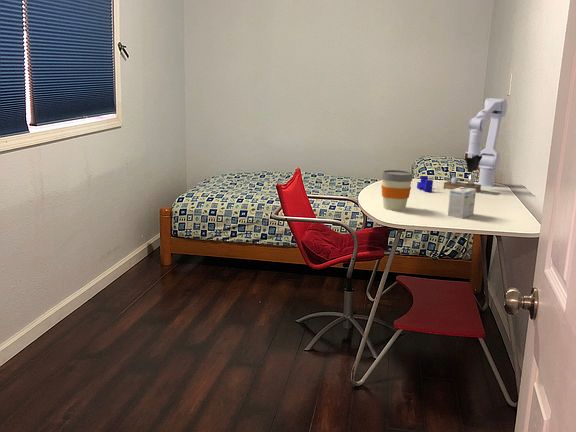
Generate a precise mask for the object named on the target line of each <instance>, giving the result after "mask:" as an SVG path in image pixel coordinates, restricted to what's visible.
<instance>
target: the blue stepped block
mask: <svg viewBox="0 0 576 432" xmlns="http://www.w3.org/2000/svg"><path fill="white" fill-rule="evenodd" d="M416 183H417V184H416V188H417V189H418V190H419V191H423V192H425V193H426V192H429V193H431V194H432V193H433V183H434V180H433V179H429V178H428V176H426V175H425V176H424V175H421V176H420V181H417V182H416Z"/></svg>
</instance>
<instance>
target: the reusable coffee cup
mask: <svg viewBox="0 0 576 432" xmlns="http://www.w3.org/2000/svg"><path fill="white" fill-rule="evenodd" d="M381 181H382V183H381V196H382V199H383V200H382V202H383V205H382V206H383V209H385V210H389V211H395V212H398V211H399V212H400V211H405V210H406V207H407V203H408V202H407V201H408V199H409V198H410V194H411V190H412V187H411V185H412V181H413V173H412V172H411V171H406V170H400V169H387V170H383V171H382V173H381Z"/></svg>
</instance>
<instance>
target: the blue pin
mask: <svg viewBox="0 0 576 432" xmlns="http://www.w3.org/2000/svg"><path fill="white" fill-rule="evenodd" d="M450 181H451V183H454V184H458V182H459V177H455V176H453V177H451V180H450Z"/></svg>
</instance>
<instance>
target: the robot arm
mask: <svg viewBox="0 0 576 432" xmlns="http://www.w3.org/2000/svg"><path fill="white" fill-rule="evenodd" d="M484 100H485V101H484V106H483V107H484V108H483V109H481V110H480V111H479V112H478V113H477V114H476V116H475V117H472V118H470V120H469V123H468V130H469V131H468V134H469V139H468V149H467V150H468V151H465V154H467V156H465V157H464V160H465V163H466V168H467V170H466V171H467V173H471V174H473V172H474V171H475V172H476V171H478V168H479V175H478V182H477V183H476V184H479V185H481V187H489V188H492V187H494V186H496V183H495V178H496V169H497V168H498V167H499V165H500V153H499V152H498V151H497V150H496V148H497V147H496V146H497V142H498V136H499V131H500V125H501V121H502V118H503V117H505V116H506V114H507V110H508V109H507V108H508V101H507V99H506V98H493V97H492V98H491V97H486V99H484ZM489 119H490V124H489V127H488V133H487V139H486V143H485V148H484V149H482V143H483V132H484V130H485V128H486V126H487V122H489ZM481 149H482V150H481Z"/></svg>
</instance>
